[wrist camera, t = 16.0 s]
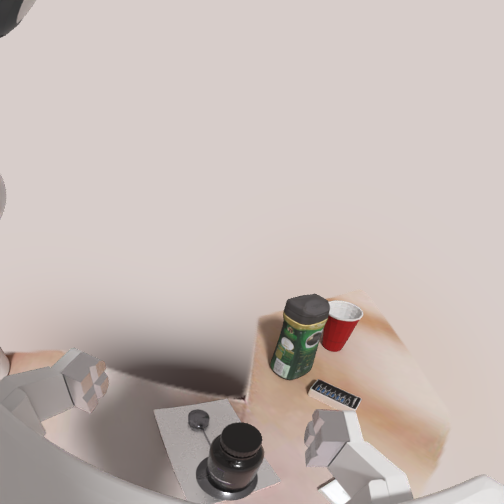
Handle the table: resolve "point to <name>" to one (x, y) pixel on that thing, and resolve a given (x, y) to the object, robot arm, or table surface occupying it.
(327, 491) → the external hard drive
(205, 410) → the plate
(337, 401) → the multiport hub
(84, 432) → the table surface
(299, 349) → the coffee jar
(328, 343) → the plastic cup
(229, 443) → the supplement bottle
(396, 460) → the table surface
